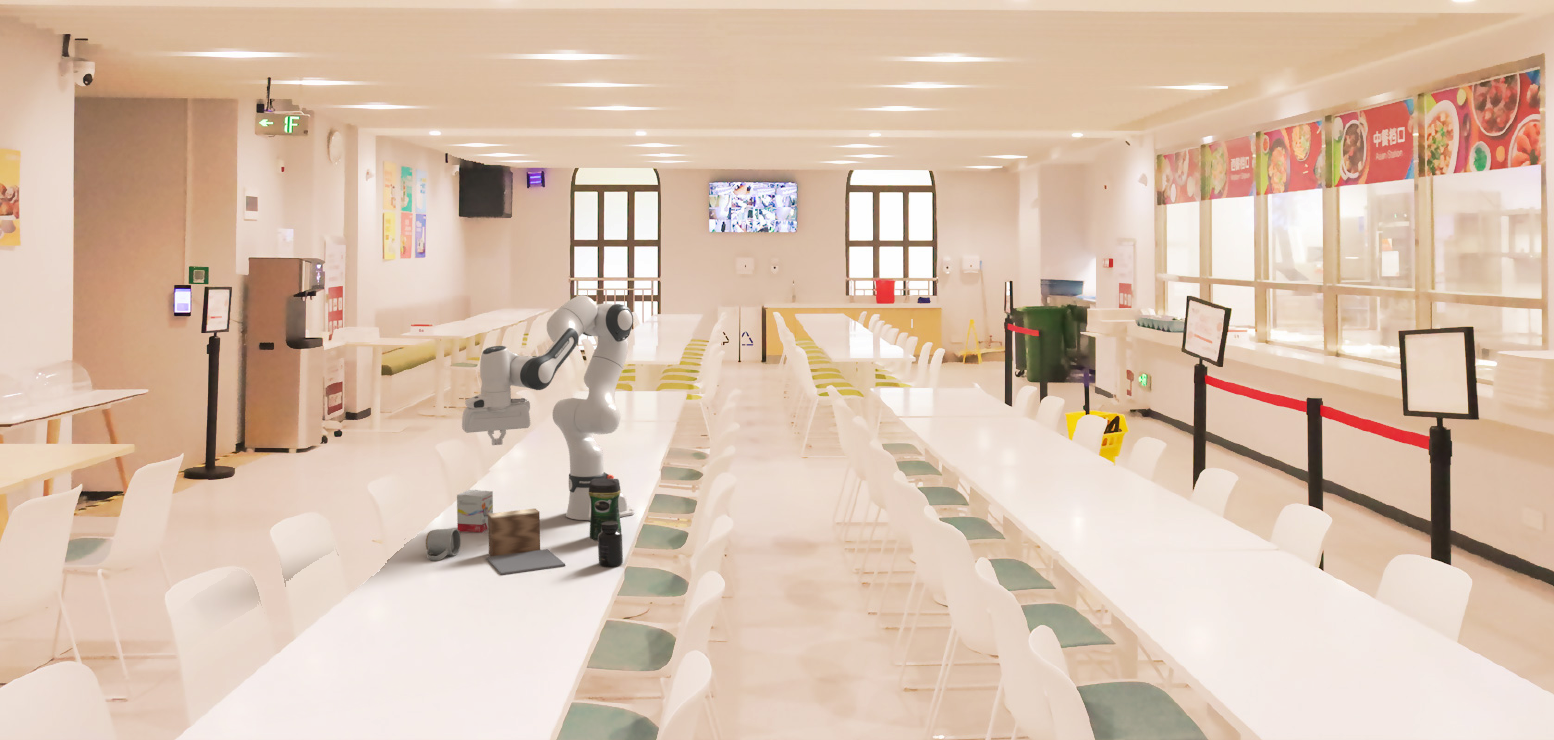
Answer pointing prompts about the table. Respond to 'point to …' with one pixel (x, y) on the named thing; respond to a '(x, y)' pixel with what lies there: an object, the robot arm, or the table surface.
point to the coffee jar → (603, 504)
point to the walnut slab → (514, 532)
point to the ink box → (474, 510)
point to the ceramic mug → (442, 543)
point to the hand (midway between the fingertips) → (497, 444)
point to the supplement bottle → (610, 545)
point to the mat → (525, 561)
